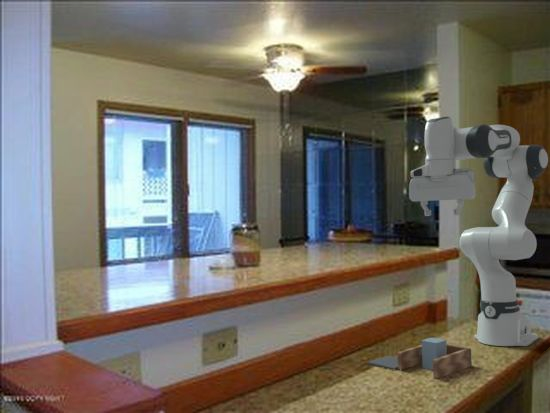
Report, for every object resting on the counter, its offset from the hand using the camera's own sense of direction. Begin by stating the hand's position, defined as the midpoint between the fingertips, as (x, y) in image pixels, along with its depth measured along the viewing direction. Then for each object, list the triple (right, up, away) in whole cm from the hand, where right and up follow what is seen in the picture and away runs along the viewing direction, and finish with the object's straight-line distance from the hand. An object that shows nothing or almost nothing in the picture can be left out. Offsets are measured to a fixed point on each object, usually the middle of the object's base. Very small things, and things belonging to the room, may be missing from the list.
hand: (442, 215), depth 172 cm
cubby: (-5, -44, -9) cm, 45 cm away
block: (-4, -44, -8) cm, 45 cm away
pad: (-16, -45, -2) cm, 47 cm away
